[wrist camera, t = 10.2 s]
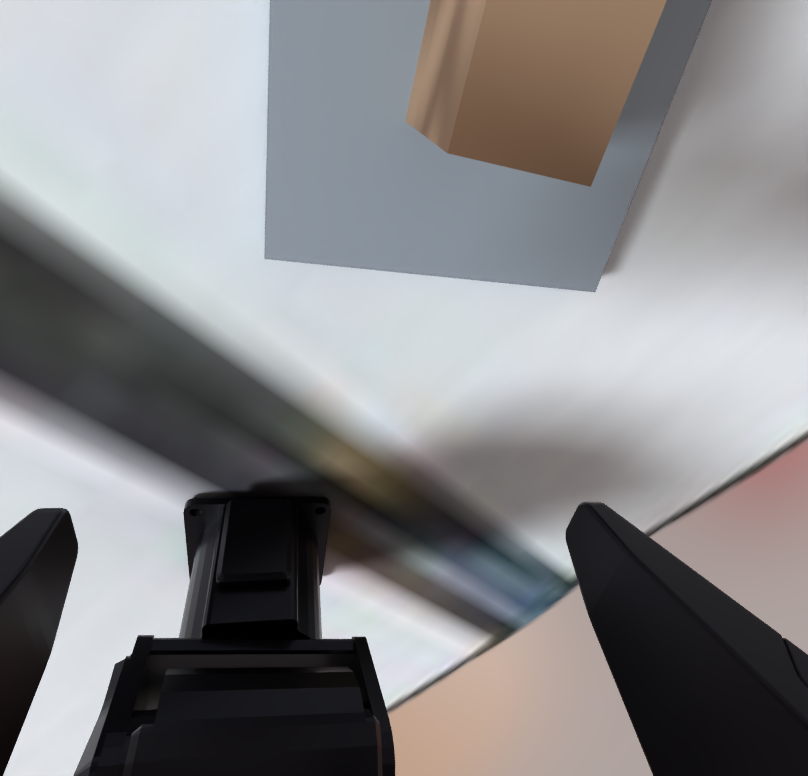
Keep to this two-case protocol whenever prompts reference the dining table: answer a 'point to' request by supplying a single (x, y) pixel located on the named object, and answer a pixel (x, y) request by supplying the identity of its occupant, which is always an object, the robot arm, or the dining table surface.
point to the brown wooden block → (529, 80)
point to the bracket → (434, 157)
